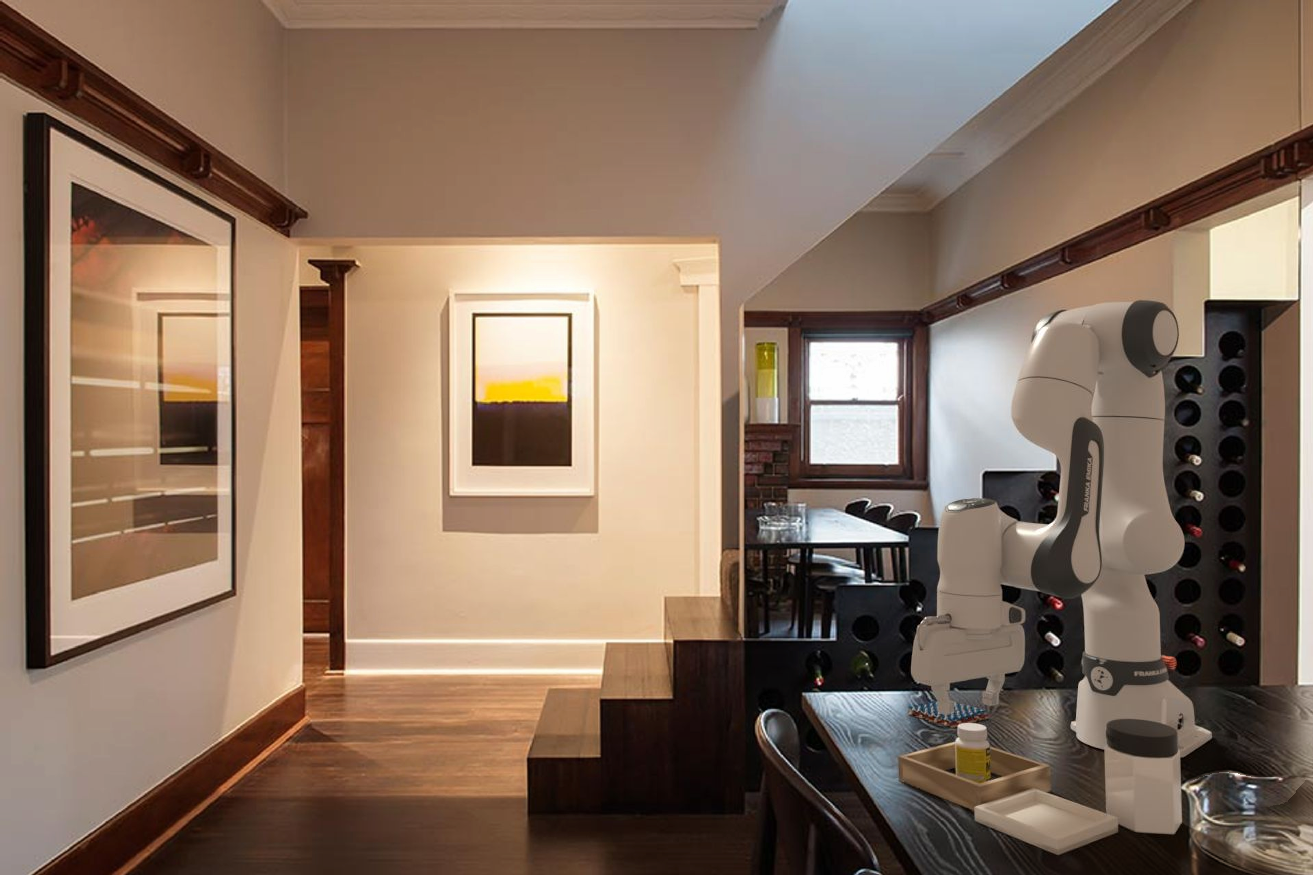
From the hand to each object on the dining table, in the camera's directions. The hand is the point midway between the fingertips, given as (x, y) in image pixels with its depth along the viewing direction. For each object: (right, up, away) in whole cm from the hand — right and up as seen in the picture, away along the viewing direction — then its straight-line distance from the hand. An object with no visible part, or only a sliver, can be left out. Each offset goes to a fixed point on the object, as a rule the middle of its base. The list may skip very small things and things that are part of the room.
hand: (968, 708), depth 129 cm
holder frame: (+1, -11, 0) cm, 11 cm away
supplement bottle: (+1, -11, 0) cm, 11 cm away
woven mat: (+8, -12, +34) cm, 37 cm away
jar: (+18, -11, -13) cm, 25 cm away
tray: (+5, -11, -14) cm, 19 cm away
